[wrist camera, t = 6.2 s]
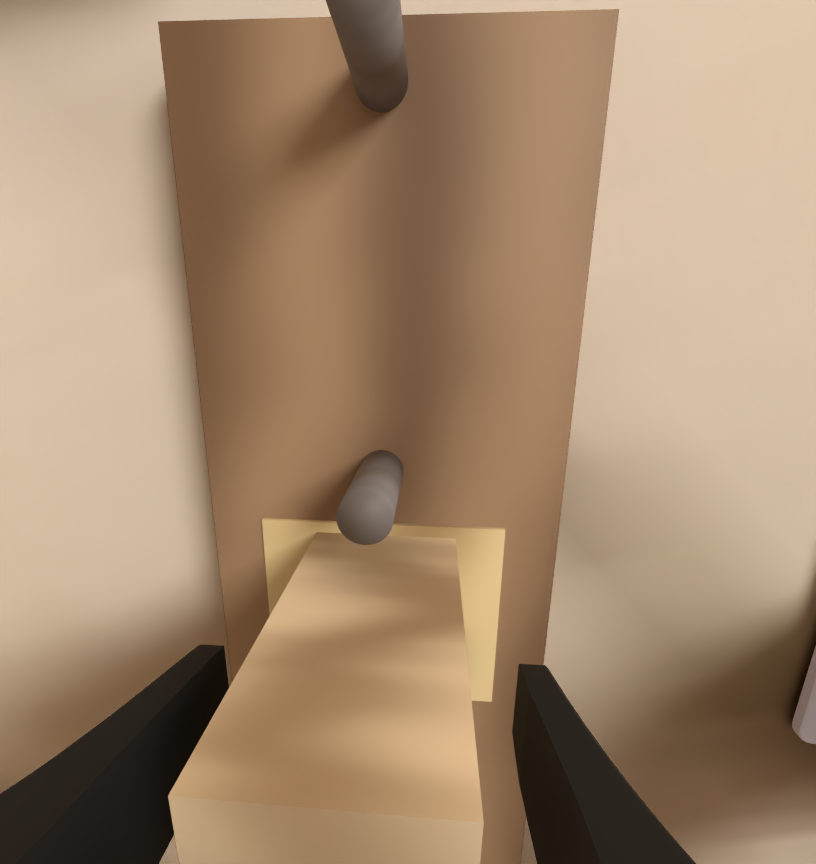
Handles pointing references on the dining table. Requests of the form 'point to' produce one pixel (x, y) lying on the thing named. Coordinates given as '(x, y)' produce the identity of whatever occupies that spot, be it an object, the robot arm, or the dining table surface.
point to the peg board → (393, 305)
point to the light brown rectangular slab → (344, 721)
